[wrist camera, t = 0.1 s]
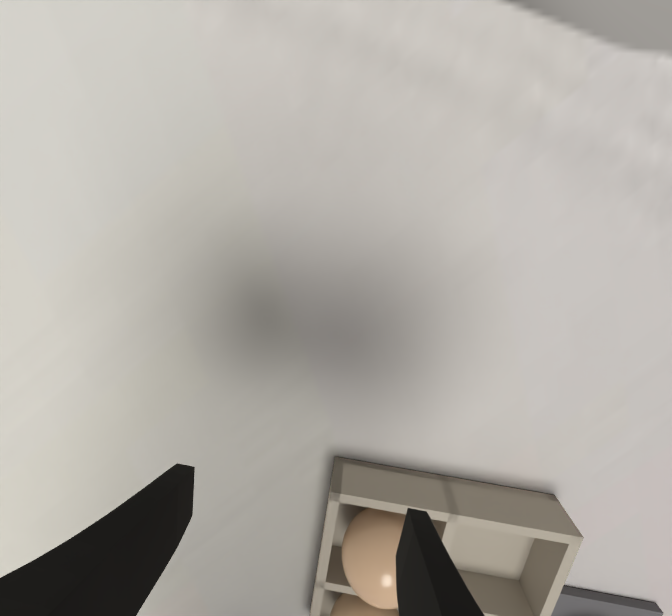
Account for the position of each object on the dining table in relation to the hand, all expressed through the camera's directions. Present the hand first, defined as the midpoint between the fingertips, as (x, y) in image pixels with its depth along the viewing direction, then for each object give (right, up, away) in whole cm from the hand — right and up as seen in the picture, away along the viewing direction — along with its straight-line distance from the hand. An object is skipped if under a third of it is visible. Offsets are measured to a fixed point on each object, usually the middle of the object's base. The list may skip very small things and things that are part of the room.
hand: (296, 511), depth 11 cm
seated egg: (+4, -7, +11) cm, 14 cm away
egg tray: (+7, -11, +13) cm, 18 cm away
